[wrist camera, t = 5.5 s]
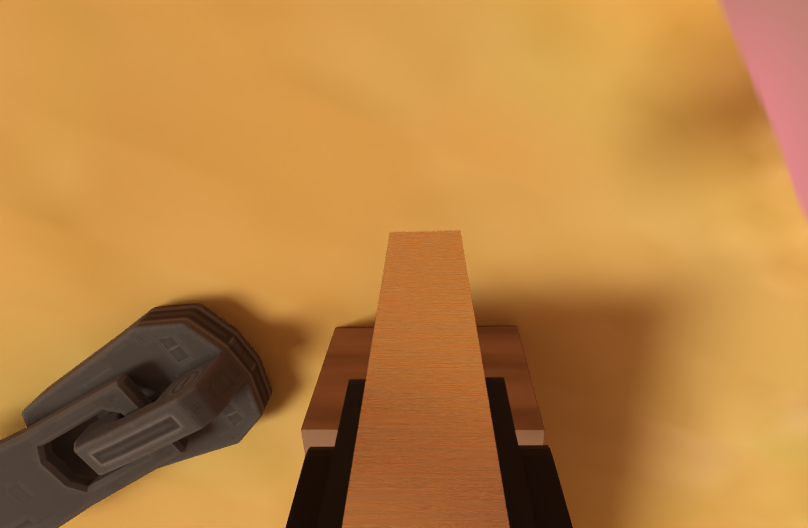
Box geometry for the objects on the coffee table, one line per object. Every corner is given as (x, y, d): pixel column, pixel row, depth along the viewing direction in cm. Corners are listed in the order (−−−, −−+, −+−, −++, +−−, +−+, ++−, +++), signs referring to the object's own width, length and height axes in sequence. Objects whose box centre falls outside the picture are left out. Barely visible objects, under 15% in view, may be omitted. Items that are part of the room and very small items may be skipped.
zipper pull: (-194, 527, 29) (136, 349, 22) (-84, 440, 35) (200, 281, 28) (-64, 619, 32) (260, 485, 25) (16, 524, 38) (294, 397, 31)
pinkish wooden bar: (389, 232, 15) (292, 834, 4) (460, 230, 15) (561, 843, 4) (397, 361, 17) (347, 1002, 6) (459, 360, 17) (525, 1012, 6)
